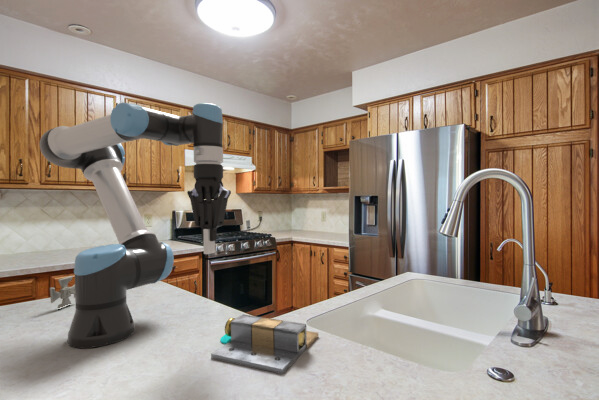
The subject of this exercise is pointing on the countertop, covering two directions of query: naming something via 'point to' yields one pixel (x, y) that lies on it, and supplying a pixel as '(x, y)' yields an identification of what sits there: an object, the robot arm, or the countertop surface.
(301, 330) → the sliding bolt latch
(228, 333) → the pin
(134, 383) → the countertop surface
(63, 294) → the cross
